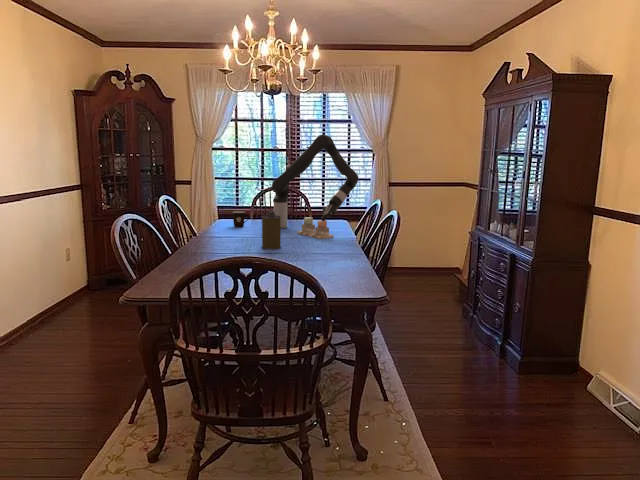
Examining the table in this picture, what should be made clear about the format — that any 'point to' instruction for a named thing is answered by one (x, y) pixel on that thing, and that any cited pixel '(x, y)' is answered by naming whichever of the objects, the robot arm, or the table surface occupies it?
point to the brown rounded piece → (322, 224)
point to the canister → (271, 231)
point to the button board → (312, 234)
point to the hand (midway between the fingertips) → (322, 220)
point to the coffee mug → (239, 218)
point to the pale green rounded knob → (308, 221)
